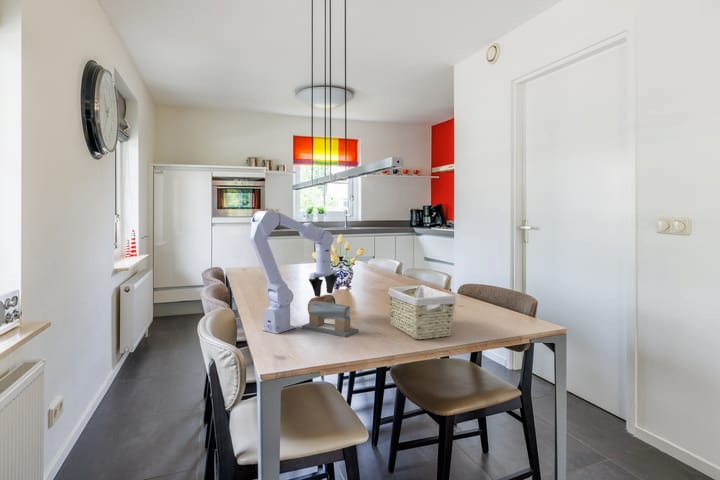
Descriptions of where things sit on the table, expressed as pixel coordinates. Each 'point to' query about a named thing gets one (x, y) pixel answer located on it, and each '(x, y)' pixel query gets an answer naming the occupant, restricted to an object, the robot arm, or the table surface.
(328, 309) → the beam
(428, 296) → the storage basket
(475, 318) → the table surface
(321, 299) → the tin
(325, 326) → the gate base
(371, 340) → the table surface
